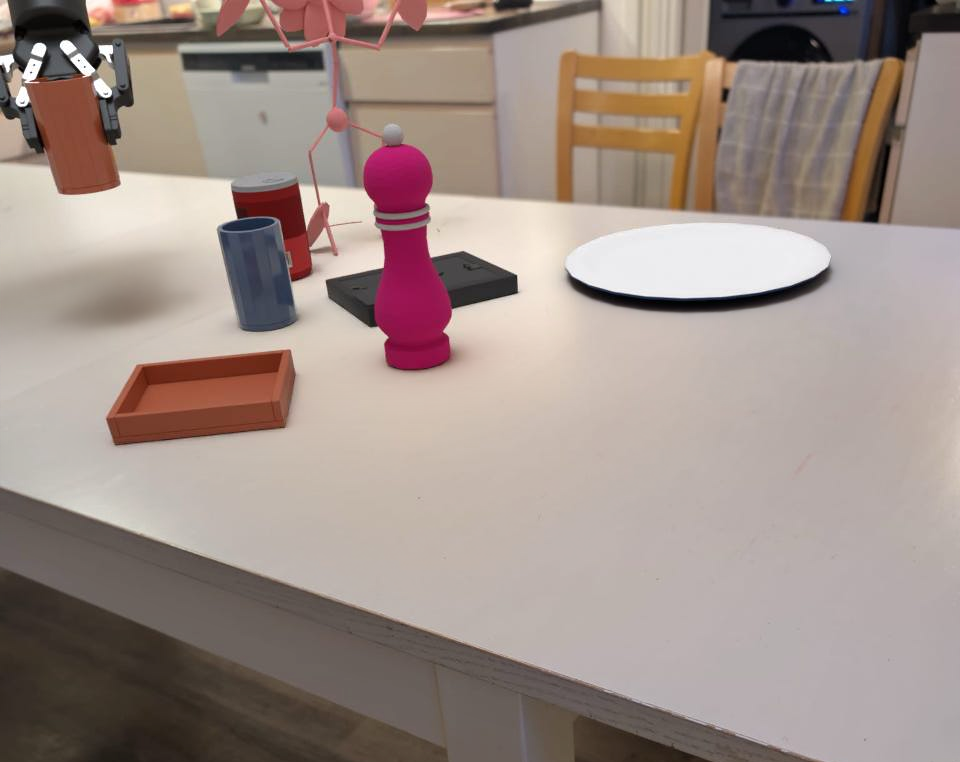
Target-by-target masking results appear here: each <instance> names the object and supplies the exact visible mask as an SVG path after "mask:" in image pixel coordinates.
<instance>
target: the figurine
mask: <svg viewBox="0 0 960 762" xmlns="http://www.w3.org/2000/svg"><path fill="white" fill-rule="evenodd" d="M258 1H259V2H260V4H261V6H262V8H263V9H264V11H265V13H266V15H267V17H268V18H269V20H270V22H271V24H272V26H273V28H274V30H275V31H276V33H277V34H278V37H279V38H280V40H281V42H282V44H283V46H284V47H285V49H287V48H288V49H287V52H288V53H293V52H295V51H301V50H303V49H306V48H311V47H312V48H316V47H318V46H320V45H321V44H324V43H327V42H328V43H329V44H331V50H332V57H333V83H332V85H333V86H332V93H333V94H332V108H331V109H330V110H329V111H328V112H327V114H326V118H325V121H326V125H325V127H324V128H323V129H322V131H321V132H320V134H319V135H318V137H317V138H316V140H315V141H314V142H313V144H312V146H311V147H310V148H309V150H308V153H307V154H308V155H307V156H308V159H309V165H310V169H311V175H312V181H313V185H314V190H315V195H316V201H317V207H316V209H314V212H313V214H312V215H311V217H310V219H309V222H308V225H307V226H306V230H307V236H308V242H309V248H311V247H313V245H314V244H315V243H316V241H317V240H318V239H319V237H320V236H321V234H322V233H323V231H324V229H325V230H326V233H327V237H328V240H329V243H330V247H331V250H332V252H333V255H334V256H335V255H338V254H339V252H338V249H337V246H336V243H335V242H336V241H335V239H334V236H333V233H332V230H331V227H336V226H344V225H349V224H350V225H351V224H361V223H363V221H361V220H360V221H351V222H343V223H335V224H332V225H330V223H329V220H328V219H329V217H330V204H329V203H328V202H327V201H324V202H323V201H322V202H321V197H320V193H319V188H318V183H317V177H316V173H315V166H314V161H313V155H312V153H313V151H314V149H315V148H316V146H317V145H318V144H319V142H320V141H321V140H322V138H323V136H324V135H325V133H326V132H327V131H328V129H329V130H331V131H333V132H335V133H341V132H343V131H345V130H346V129H347V128H348V126H350V127H353V128H355V129H358V130H360V131H362V132H365V133H367V134H370V135H372V136H374V137H377V138H380V139H381V147H383V146H386V143H385V142H384V140H383V134H380V133H378V132H375V131H373V130H370V129H369V128H365V127H362V126H360V125H358V124H355V123H354V122H351V121H349V119H348V115H347V113H346V111H344V110H343V108H339V107H337V97H338V96H337V95H338V80H339V79H338V78H339V58H338V52H337V47H336V43H338V42H340V43H344V44H348V45H353V46H357V47H362V48H366V49H369V50H374V51H378V52H380V51H381V50H380V48H382V47H383V45H384V43H385V41H386V39H387V36H388V34H389V32H390V29H391V27H392V24H393V22H394V20H395V18H396V16H397V13H398V15H399V17H400V18H401V20H402V21H403V22H405V23H406V24H407V25H408V27H410V28H411V29H413V30H415V31H416V32H419V30H420V29H422V26H423V24H424V22H425V21H426V18H427V17H428V16H427V15H428V3H427V0H394V1H395V3H394V6H393V8H392V10H391V13H390V15H389V17H388V20H387V22H386V25H385V26H384V28H383V31H382V34H381V36H380V38H379V40H378V43H377V44H374V43H371V42H370V43H369V42H365V41H360V40H357V39H352V38H347V37H345V36H346V28H347V14H348V15H354V16H358V15H361V14H362V13H363V11H364V1H363V0H270V1H271V2H272V3H273V4H274V5H275V6H277V7H280V8H282V10H281V12H280V13H279V15H278V16H279V17H278V18H279V23H278V21H277V19H276V18H275V16H274V14H273V12H272V11H271V9H270V7H269V5H268V3H267V1H266V0H258ZM250 2H251V0H223V1H222V3H221V6H220V8H219V11H218V13H217V19H216V25H215V33H216V34H215V35H216V36H217V37H218V38H219V37H220V36H221V35H223V34H225V32H227V31H228V30H229V29H230V28H232V27H233V26H234V25H235V24H236V23H237V22H238V21H239V19H240V18H242V15H243V14H244V13H245V12H246V9H247V8H248V6H249V3H250ZM301 30H303V31H304V32H303V34H304V35H303V37H304V39H305V40H306V41H305V42H302V43H298V44H295V45H290V43H289V41H288V39H287V37H286V36H285V33H284V32H286V33H291V32H293V33H295V32H298V31H301ZM283 31H284V32H283ZM373 203H374V202H373ZM376 208H377V206H376V204H375V203H374V204H373V210H374V209H376ZM435 229H436V230H437V231H438V232H439V233H440V229H438V228H437V227H436V228H435Z"/></svg>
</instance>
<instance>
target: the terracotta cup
mask: <svg viewBox="0 0 960 762" xmlns="http://www.w3.org/2000/svg"><path fill="white" fill-rule="evenodd" d="M72 76H73V77H75V78H73V79H66V80H58V81H48V82H47V81H46V80H47V79H48V78H49V77H42V78H37V79H31V80H27V81H24V82H23V83H24V86H25V90H26V93H27V96H28V99H29V102H30V106H31V109H32V112H33V115H34V118H35V121H36V125H37V128H38V131H39V134H40V137H41V141H42V144H43V147H44V154H45V157H46V160H47V164H48V167H49V169H50V172H51V176H52V179H53V182H54V185H55V188H56V191H57V194H59V195H64V196H80V195H81V196H82V195H89V194H96V193H101V192H102V193H103V192H105V191H109V190H112V189H116V188H118V187H120V186H121V185H122V182H121V179H120V178H121V176H120V173H119V170H118V165H117V161H116V158H115V154H114V150H113V147H112V146H110V144H109V142H108V139H107V136H106V133H105V129H104V124H103V119H102V114H101V109H100V104H99V99H98V96H97V92H96V88H95V85H94V81H93V77H92V75H91V74H72Z"/></svg>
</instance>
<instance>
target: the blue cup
mask: <svg viewBox="0 0 960 762" xmlns="http://www.w3.org/2000/svg"><path fill="white" fill-rule="evenodd" d="M216 232H217V233H216V234H217V237H218V242H219V247H220V251H221V255H222V261H223V263H224V268H225V273H226V277H227V282H228V285H229V290H230V295H231V299H232V303H233V308H234V312H235V316H236V321H237V324H238V326H239V328H240V329H242V330H244V331H249V332H266V331H273V330H278V329H281V328H282V329H283V328H286V327H287V326H290V325H292V324H294V323H295V322H297V320H298V312H297V311H298V310H297V309H298V308H297V305H296V300H295V294H294V289H293V284H292V283H293V282H292V281H291V277H290V272H289V267H288V261H287V256H286V251H285V245H284V240H283V235H282V229H281V224H280V220H279V219H277V218H273V217H250V218H242V219H237V218H236V219H233V220H229V221H226V222H224V223H222V224H219V225H217V228H216Z"/></svg>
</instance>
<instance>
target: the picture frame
mask: <svg viewBox="0 0 960 762" xmlns="http://www.w3.org/2000/svg"><path fill="white" fill-rule="evenodd" d="M431 260H432V263H433V265H434V267H435V269H436V271H437V273H438V275H439V277H440V278H441V280H442V282H443V284H444V286H445V288H446V290H447V293H448V295H449V298H450V302H451V308H452V309H453V308H458V307H462V306H466V305H470V304H475V303H478V302H483V301H487V300H491V299H495V298H500V297H504V296H509V295H512V294H516V293H519V283H518V282H519V281H518V274H516V273H514V272H513V271H512V272H511V271H510V270H507V269H505V268H502V267H500V266H498V265H496V264H494V263H491V262H489V261H487V260H485V259H483V258H480V257H478V256H476V255H475V254H471V253H470V252H467V251H465V250H461V251H455V252H450V253H447V254H442V255H437V256H433V257H431ZM383 268H384V267H379V268H375V269H370V270H366V271H361V272H356V273H351V274H346V275H342V276H337V277H332V278H327V279H325V286H326V291H327V297H328V298H329V299H331V300H332V301H333V302H335V303H336V304H338V305H339V306H341V307H342V308H343V309H344V310H346V311H347V312H349V313H350V314H352V315H353V316H355V317H356V318H358V319H359V320H360V321H362V322H363V323H365V324H366V325H367V326H368V327H371V328H373V327H378V325H377V323H376V320H375V300H376V294H377V290H378V286H379V283H380V280H381V277H382V272H383Z"/></svg>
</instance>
